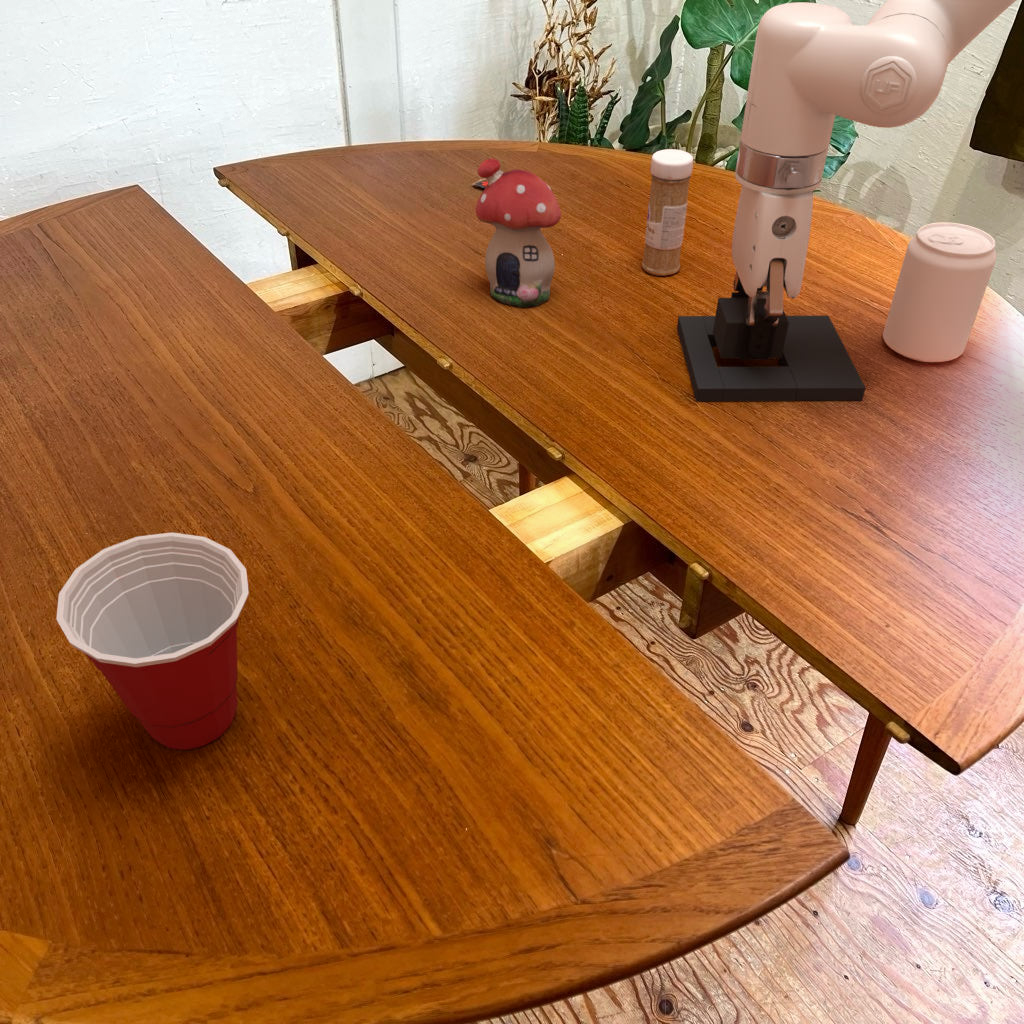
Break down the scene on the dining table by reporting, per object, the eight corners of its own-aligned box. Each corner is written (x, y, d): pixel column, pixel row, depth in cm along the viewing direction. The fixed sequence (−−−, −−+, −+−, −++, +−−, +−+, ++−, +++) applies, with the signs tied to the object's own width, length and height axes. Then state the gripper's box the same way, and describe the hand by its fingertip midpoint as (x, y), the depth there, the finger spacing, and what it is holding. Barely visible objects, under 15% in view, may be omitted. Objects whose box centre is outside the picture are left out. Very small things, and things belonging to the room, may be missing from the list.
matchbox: (501, 194, 130) (500, 191, 130) (468, 187, 132) (468, 184, 132) (517, 183, 133) (517, 179, 133) (485, 176, 135) (485, 173, 135)
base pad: (825, 327, 103) (828, 315, 102) (862, 400, 92) (865, 387, 91) (676, 328, 103) (678, 315, 102) (696, 401, 92) (698, 388, 91)
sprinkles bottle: (637, 261, 115) (647, 149, 106) (673, 258, 116) (686, 146, 107) (647, 279, 112) (658, 164, 103) (685, 276, 112) (699, 161, 104)
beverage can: (963, 373, 96) (1003, 261, 88) (879, 359, 98) (910, 249, 90) (962, 334, 102) (999, 226, 94) (882, 322, 104) (912, 215, 96)
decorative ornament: (468, 293, 109) (463, 162, 99) (500, 271, 113) (498, 143, 104) (538, 315, 105) (540, 180, 96) (568, 291, 109) (573, 160, 100)
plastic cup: (269, 778, 60) (233, 652, 53) (94, 790, 60) (31, 664, 52) (286, 648, 69) (257, 522, 61) (132, 658, 68) (82, 532, 60)
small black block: (771, 332, 98) (778, 297, 96) (781, 358, 95) (789, 322, 92) (712, 332, 98) (718, 297, 96) (720, 358, 95) (726, 322, 92)
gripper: (849, 201, 78) (804, 390, 90) (800, 129, 91) (767, 302, 103) (756, 202, 78) (724, 390, 90) (721, 129, 91) (697, 302, 103)
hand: (747, 341), depth 96 cm, fingers closed on small black block, 4 cm apart
